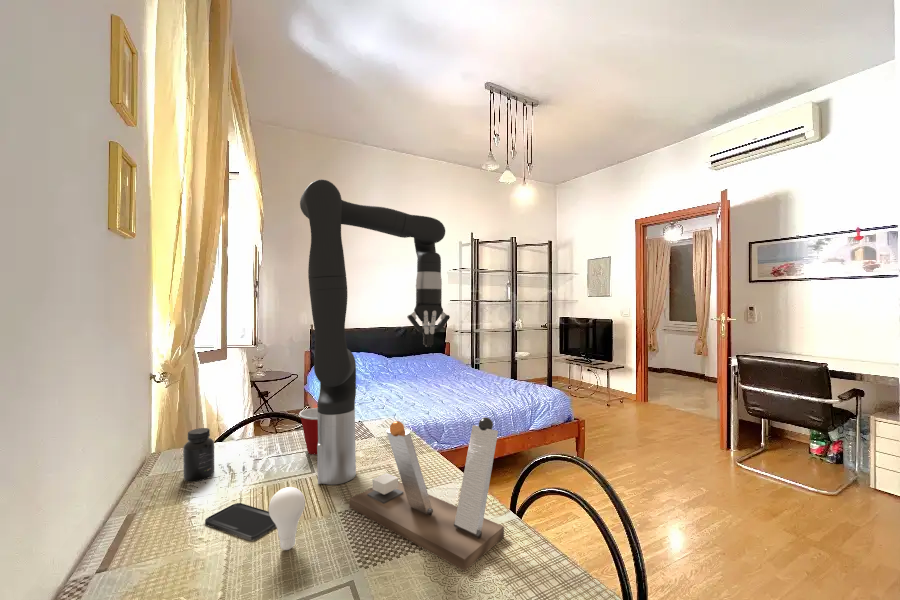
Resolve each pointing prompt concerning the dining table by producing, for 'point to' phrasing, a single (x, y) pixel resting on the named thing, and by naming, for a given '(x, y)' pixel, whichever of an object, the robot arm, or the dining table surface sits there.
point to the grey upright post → (476, 478)
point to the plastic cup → (310, 429)
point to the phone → (242, 521)
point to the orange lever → (409, 468)
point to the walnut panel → (428, 525)
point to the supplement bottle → (198, 455)
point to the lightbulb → (287, 514)
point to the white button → (385, 483)
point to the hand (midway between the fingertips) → (428, 346)
